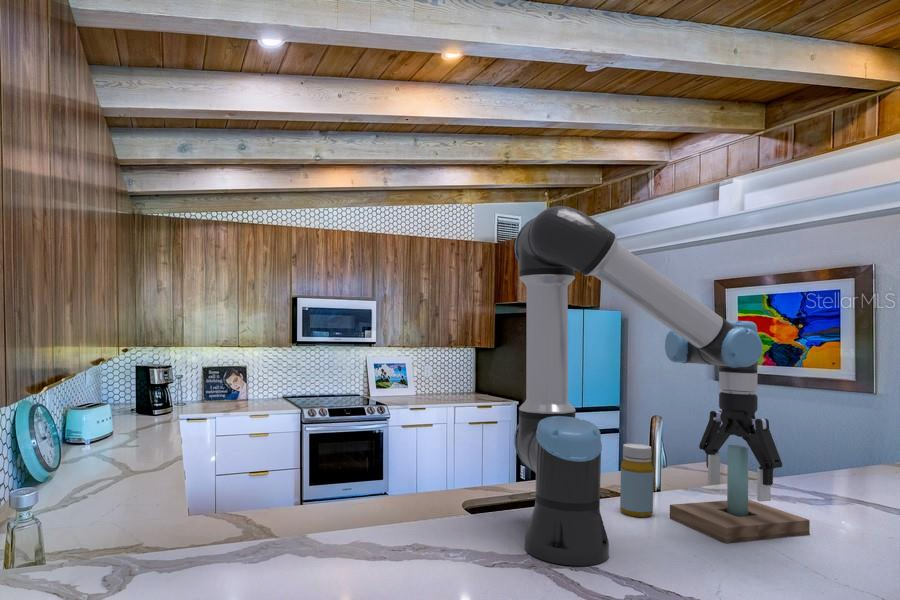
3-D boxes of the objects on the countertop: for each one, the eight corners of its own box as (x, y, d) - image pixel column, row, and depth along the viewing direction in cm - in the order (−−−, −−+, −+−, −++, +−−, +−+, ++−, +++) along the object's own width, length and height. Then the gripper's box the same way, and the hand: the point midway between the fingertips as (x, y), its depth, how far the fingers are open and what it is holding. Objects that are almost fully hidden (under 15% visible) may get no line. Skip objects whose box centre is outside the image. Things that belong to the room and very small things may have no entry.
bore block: (725, 543, 114) (725, 527, 115) (669, 518, 130) (669, 504, 130) (809, 534, 122) (809, 520, 122) (747, 512, 137) (747, 499, 137)
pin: (737, 526, 123) (737, 448, 124) (722, 520, 127) (723, 445, 128) (752, 524, 124) (752, 448, 125) (737, 519, 128) (737, 444, 129)
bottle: (654, 519, 128) (655, 450, 129) (621, 516, 130) (622, 447, 131) (650, 510, 135) (651, 444, 136) (619, 507, 137) (620, 442, 138)
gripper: (802, 398, 117) (802, 507, 115) (709, 387, 140) (708, 477, 139) (773, 398, 114) (773, 509, 113) (683, 386, 138) (682, 478, 137)
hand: (737, 492), depth 126 cm, fingers open, 13 cm apart
